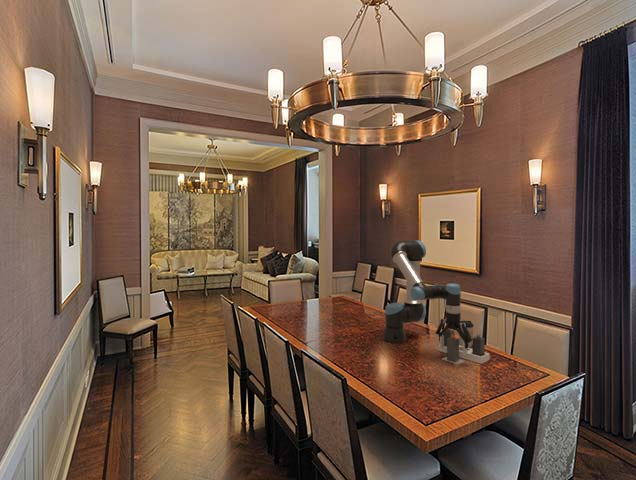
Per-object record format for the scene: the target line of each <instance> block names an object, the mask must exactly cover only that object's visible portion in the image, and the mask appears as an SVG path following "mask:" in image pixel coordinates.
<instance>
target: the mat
mask: <svg viewBox="0 0 636 480" xmlns="http://www.w3.org/2000/svg"><path fill="white" fill-rule="evenodd" d="M441 360H442V361H446V362H448V363H449V362H450V363H453V364H455V365H460V364H462V363H464V362H465V360H464V359H461V358H459V360H458V361H456V362H452V361H449V360H447V356H445V357H443V358H441Z"/></svg>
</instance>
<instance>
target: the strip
mask: <svg viewBox="0 0 636 480" xmlns="http://www.w3.org/2000/svg"><path fill="white" fill-rule="evenodd" d="M451 334H455V330H453V329H450V328H449V329H448V330H447V331H446V332H445V333H444V334H443V335H442V336H444V347H443V348H440V343H439V344H438V345H437V352H439V353H444V354H445V355H447V338H449V337H451ZM485 343H486V342H485V338H484V337H482V336H481V333H479V332H477V333H476V336H473V338H472V347H468V348H467V354H465V355H463V346H460V344H459V359H461V360H464V361H465V360H466V361H469V362H472V363H475V364H479V365H483V364H485V363H487V362H489V361H491V360H490V358H491V357H490V356H491V355H490V353H488V352H485V345H486V344H485Z"/></svg>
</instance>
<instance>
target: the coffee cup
mask: <svg viewBox="0 0 636 480" xmlns="http://www.w3.org/2000/svg"><path fill="white" fill-rule="evenodd" d="M460 322H461V323H466V327H467V330H468V332H469V334H470V336H471V339H472V338H474V326H475V325H474V323H472V321H471V320H460ZM460 327H461V325H460ZM461 329H462V327H461ZM462 331H463V329H462ZM463 333H464V332H463ZM458 339H459V345H460V346H463V342H464V340H463V339H462V337H461V336H460V334H459V333H458ZM468 348H472V341H471V342H468Z"/></svg>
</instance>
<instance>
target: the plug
mask: <svg viewBox="0 0 636 480" xmlns="http://www.w3.org/2000/svg"><path fill="white" fill-rule="evenodd" d="M455 335H456V334H455V333H454V334H451V337H449V338H447V354H446V357H447V360H449V361H452V362H456V361H458V360H459V359H460V358H459V345H460V341H459V337H456V336H455ZM449 361H448V362H449ZM452 362H451V363H452Z"/></svg>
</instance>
